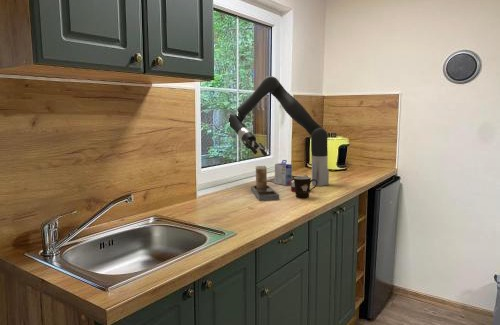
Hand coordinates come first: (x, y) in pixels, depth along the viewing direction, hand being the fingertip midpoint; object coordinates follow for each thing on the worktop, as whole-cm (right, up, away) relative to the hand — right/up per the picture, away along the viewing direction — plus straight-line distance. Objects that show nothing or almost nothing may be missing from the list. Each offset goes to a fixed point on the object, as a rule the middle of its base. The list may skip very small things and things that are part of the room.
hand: (261, 154), depth 209 cm
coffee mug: (+22, -23, -22) cm, 38 cm away
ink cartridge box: (+14, -18, +15) cm, 27 cm away
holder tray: (+1, -22, -14) cm, 26 cm away
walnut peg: (0, -21, -6) cm, 22 cm away
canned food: (+21, -21, -6) cm, 30 cm away
